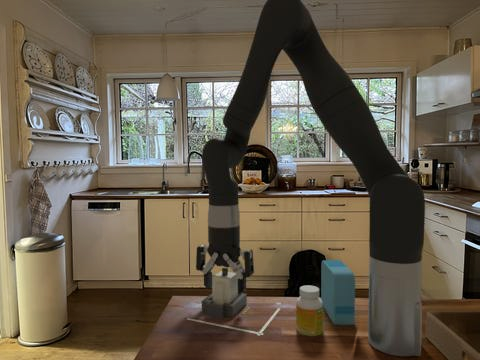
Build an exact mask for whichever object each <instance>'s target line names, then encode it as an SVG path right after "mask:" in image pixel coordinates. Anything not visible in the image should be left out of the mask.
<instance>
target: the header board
mask: <svg viewBox="0 0 480 360" xmlns="http://www.w3.org/2000/svg"><path fill="white" fill-rule="evenodd" d="M280 310H281V308H279V307H278V308H277V309H276V311H274V312H273V314H272V315H271V316H270V318H269V319H268V320H267V322H265V324H264V325H263V326H262V328H261V329H260V330H259V331H253V330H249V329H243V328H238V327H233V326H229V325H224V324H219V323H214V322H210V321H209V322H208V321H205V320H200V319H194V318H189V317H187V318H186V320H188V321H193V322H197V323H202V324H207V325H212V326H217V327H221V328H227V329H232V330H236V331H240V332H246V333H251V334H255V335H256V336H259V337H260V336H263V335H264V333H263V332H264V331H265V330H266V328H267V327H268V326H269V325H270V323H271V322H272V320H274V319H275V317H276V315H277V314H278V313H279V311H280Z"/></svg>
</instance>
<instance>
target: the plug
mask: <svg viewBox="0 0 480 360" xmlns="http://www.w3.org/2000/svg"><path fill="white" fill-rule="evenodd" d="M211 289H212V292H211V294H212V301H213V304H218V305H223V304H224V303H227V304H231V303H232V302H234V301H235V300H236V299H237V298H238V276H237V275H236V273H235V272H233V271H232V272H231V271H229V267H222V269H221V270H219V271H218V272H216V273H215V274H214V275H212V288H211Z"/></svg>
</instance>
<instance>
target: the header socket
mask: <svg viewBox="0 0 480 360" xmlns="http://www.w3.org/2000/svg"><path fill="white" fill-rule="evenodd" d="M247 297H248V295H247V293H242V294H238V298H237V299H236V300H235V301H234V302H232V303H231V304H227V303H224V304H223V305H218V304H213V301H212V293H211V294H209V295H207V296H206V297H205V298H204V299H203V300H201V312H204V313H206V316H210V317H215V318H220V319H223V318H224V317H230V318H233V317H235V316H236V315H237V314H238V313H239V312H240V311H241V310H242V309H243V308H244V307H246V306H247V303H248V300H247ZM250 309H251V308H250V307H246V308H245V310H243V312H241V315H244V316H245V314H246V313H247V312H248V311H249V310H250Z"/></svg>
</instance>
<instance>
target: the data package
mask: <svg viewBox="0 0 480 360" xmlns="http://www.w3.org/2000/svg"><path fill="white" fill-rule="evenodd" d="M320 268H321V271H320V273H321V275H320V276H321V283H320V285H321V286H320V287H321V288H320V293H321V295H320V299H321V300H322V302H323V309H324V310H325V312H326V314H327V315H328V317H329V319H330V321H331V323H332V324H333V325H338V326H339V325H341V326H343V325H347V326H348V325H352V326H353V325H355V324H356V323H355V320H356V319H355V318H356V317H355V316H356V315H355V314H356V310H355V309H356V307H355V306H356V299H355V298H356V277H355V274H354V272H353V271H352V270H351V269H350V268H349V267H348V266H347V265H346V264H345V263H344V262H343V261H342V260H337V259H334V260H333V259H331V260H330V259H329V260H327V259H326V260H325V259H324V260H322V261H321V267H320Z"/></svg>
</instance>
